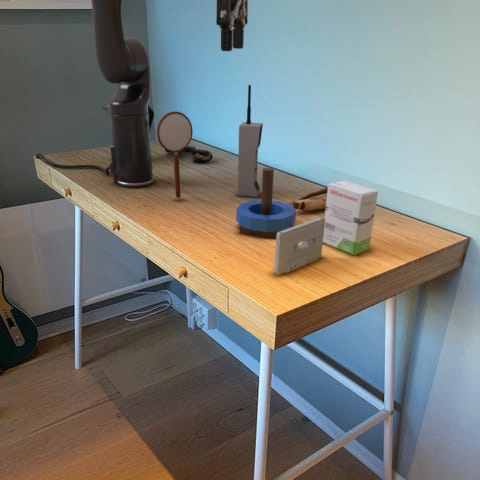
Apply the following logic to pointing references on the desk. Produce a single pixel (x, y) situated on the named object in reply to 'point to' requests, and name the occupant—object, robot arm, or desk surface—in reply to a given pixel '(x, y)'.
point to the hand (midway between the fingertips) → (232, 49)
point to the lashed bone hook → (312, 201)
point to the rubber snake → (206, 154)
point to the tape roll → (265, 216)
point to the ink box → (349, 216)
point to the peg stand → (264, 203)
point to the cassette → (299, 255)
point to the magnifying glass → (175, 139)
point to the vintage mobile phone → (248, 154)
